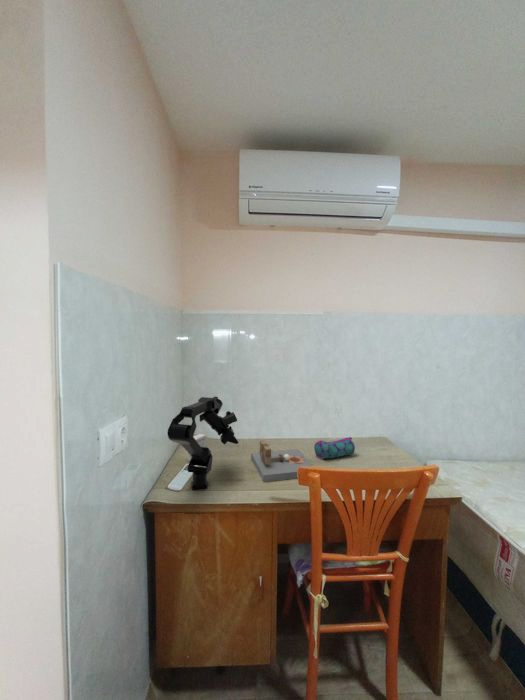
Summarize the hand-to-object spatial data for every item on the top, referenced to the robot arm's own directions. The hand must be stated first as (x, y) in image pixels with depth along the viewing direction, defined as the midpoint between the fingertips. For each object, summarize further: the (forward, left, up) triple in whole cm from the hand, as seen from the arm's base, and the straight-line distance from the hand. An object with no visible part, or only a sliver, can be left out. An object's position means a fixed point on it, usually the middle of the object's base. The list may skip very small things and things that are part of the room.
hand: (237, 442), depth 129 cm
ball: (0, -25, -9) cm, 26 cm away
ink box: (+17, +17, -14) cm, 28 cm away
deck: (0, -23, -14) cm, 26 cm away
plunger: (0, -17, -10) cm, 20 cm away
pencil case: (+6, -55, -14) cm, 57 cm away
